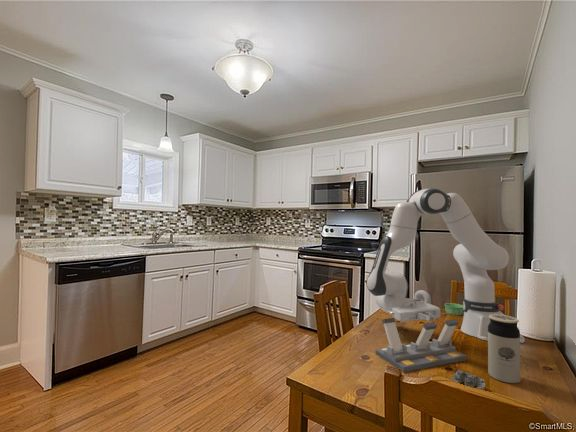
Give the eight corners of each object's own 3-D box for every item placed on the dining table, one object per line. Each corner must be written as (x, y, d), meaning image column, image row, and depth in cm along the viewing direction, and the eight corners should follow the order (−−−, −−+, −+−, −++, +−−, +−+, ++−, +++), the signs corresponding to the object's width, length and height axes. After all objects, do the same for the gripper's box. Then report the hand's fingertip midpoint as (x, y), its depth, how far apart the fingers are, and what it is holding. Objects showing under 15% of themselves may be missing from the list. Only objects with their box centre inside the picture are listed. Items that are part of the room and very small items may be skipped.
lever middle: (413, 346, 105) (424, 323, 100) (422, 344, 106) (434, 322, 102) (416, 350, 104) (427, 326, 99) (425, 348, 105) (437, 325, 101)
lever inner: (435, 342, 108) (446, 320, 104) (444, 341, 110) (455, 318, 106) (438, 346, 107) (449, 323, 103) (447, 345, 108) (458, 322, 104)
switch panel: (375, 353, 107) (375, 339, 107) (433, 344, 116) (433, 331, 116) (403, 372, 93) (403, 355, 94) (466, 360, 103) (466, 345, 103)
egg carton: (480, 406, 76) (480, 390, 77) (448, 395, 81) (447, 379, 82) (487, 389, 84) (487, 375, 84) (457, 380, 89) (457, 366, 90)
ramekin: (466, 316, 154) (466, 308, 154) (447, 315, 156) (447, 306, 156) (460, 311, 163) (460, 303, 163) (442, 310, 165) (442, 302, 165)
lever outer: (391, 352, 101) (381, 319, 106) (401, 351, 102) (391, 318, 107) (393, 352, 100) (384, 318, 105) (404, 350, 101) (394, 317, 106)
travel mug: (489, 368, 97) (489, 312, 97) (520, 376, 92) (520, 317, 92) (486, 378, 91) (486, 317, 91) (520, 387, 85) (519, 323, 86)
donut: (432, 309, 166) (432, 291, 166) (428, 310, 164) (428, 292, 164) (416, 305, 174) (416, 288, 175) (412, 306, 172) (412, 288, 173)
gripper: (385, 303, 122) (410, 312, 109) (424, 299, 129) (451, 308, 116) (385, 318, 122) (410, 329, 109) (424, 314, 129) (451, 324, 116)
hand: (432, 318), depth 113 cm, fingers closed
